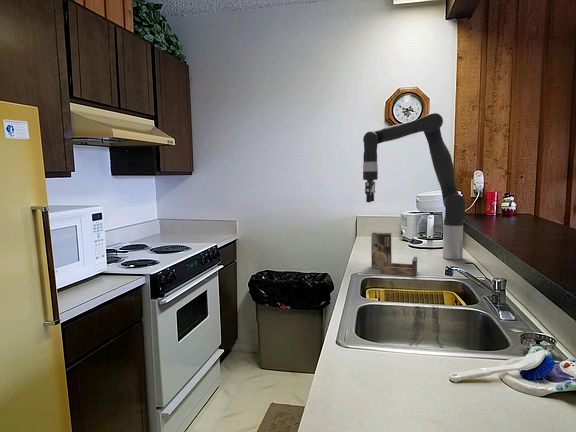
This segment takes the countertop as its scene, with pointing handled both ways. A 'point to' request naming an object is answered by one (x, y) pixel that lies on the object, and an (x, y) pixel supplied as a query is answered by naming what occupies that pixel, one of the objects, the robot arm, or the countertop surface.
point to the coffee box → (380, 249)
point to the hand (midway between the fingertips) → (370, 201)
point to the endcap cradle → (400, 268)
